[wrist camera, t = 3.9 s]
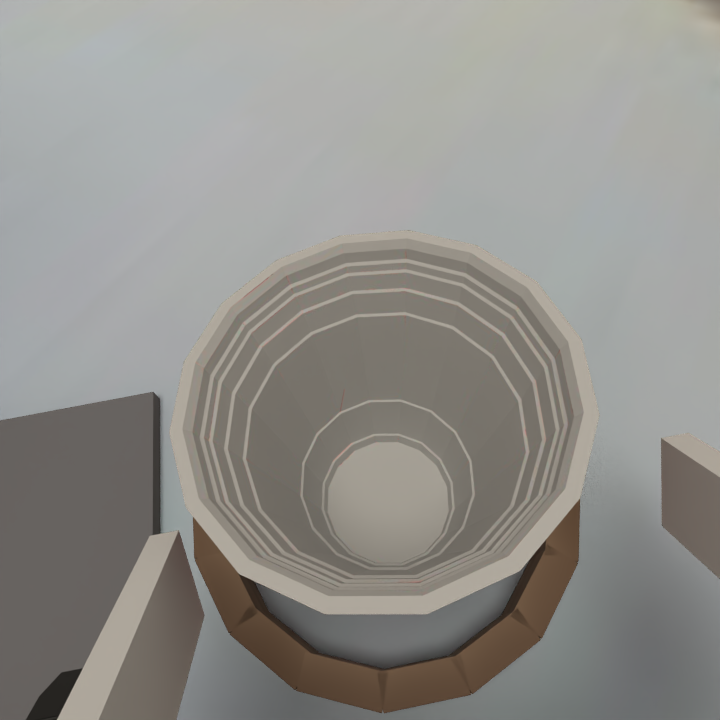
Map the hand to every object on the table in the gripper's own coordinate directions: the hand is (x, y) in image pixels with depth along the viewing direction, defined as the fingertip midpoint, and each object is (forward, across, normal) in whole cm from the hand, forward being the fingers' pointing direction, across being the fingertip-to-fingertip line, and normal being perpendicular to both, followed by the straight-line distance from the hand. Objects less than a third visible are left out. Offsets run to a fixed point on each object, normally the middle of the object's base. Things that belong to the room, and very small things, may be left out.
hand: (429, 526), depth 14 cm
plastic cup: (+9, -1, -4) cm, 10 cm away
